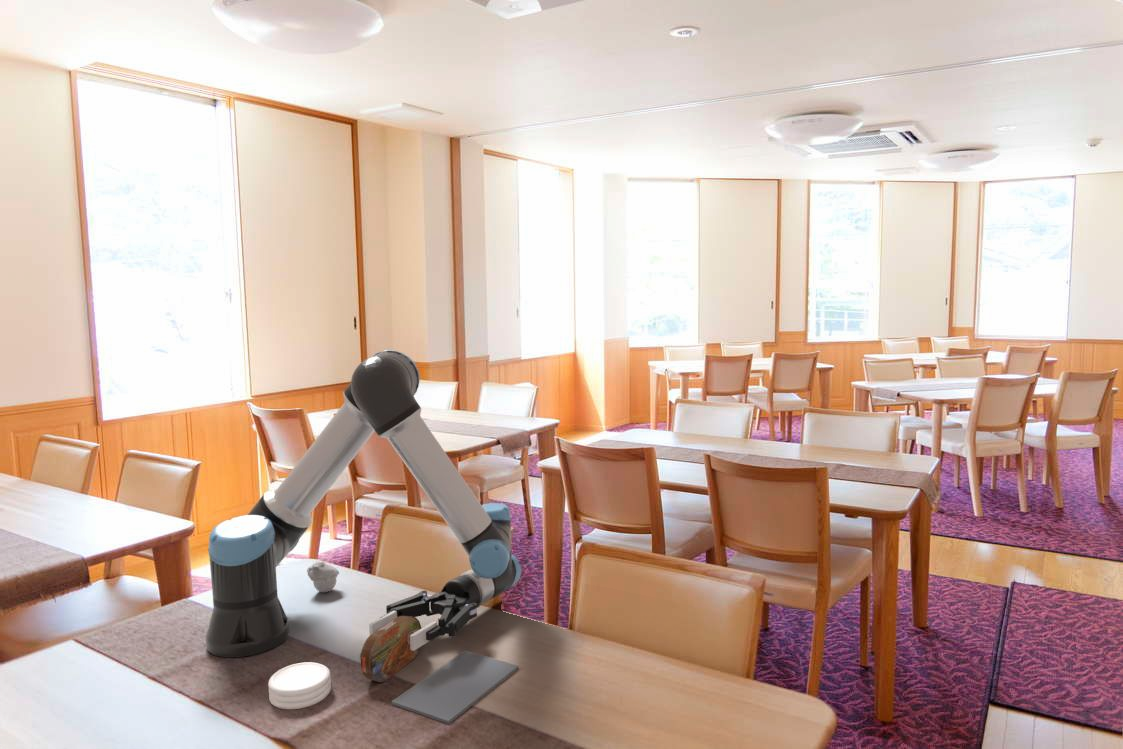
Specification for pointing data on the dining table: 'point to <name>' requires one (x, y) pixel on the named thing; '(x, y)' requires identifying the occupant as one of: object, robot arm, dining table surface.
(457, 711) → the slate mat
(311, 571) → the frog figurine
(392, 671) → the tin
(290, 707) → the white round stack
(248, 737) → the dining table surface
